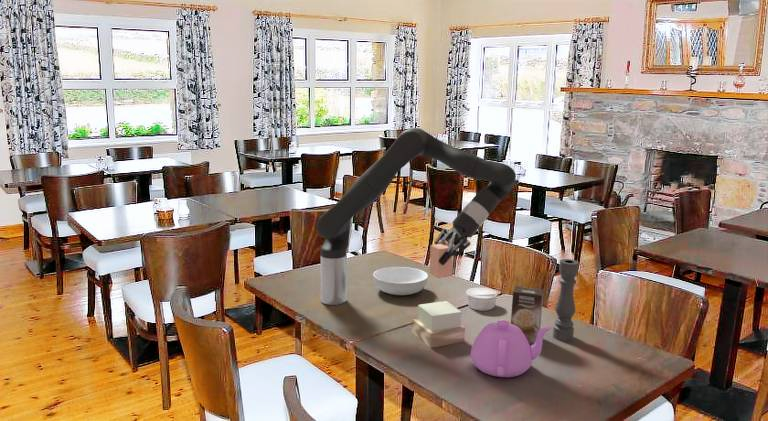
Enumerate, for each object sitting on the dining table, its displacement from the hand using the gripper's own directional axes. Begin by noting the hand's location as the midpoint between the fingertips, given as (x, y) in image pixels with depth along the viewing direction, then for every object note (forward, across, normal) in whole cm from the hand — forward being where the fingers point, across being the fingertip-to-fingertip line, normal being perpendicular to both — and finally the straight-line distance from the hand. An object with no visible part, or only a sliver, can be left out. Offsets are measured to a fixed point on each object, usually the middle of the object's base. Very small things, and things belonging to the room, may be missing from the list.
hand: (436, 260), depth 190 cm
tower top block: (+13, -1, +16) cm, 21 cm away
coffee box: (0, +11, +37) cm, 39 cm away
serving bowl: (+11, -43, +25) cm, 51 cm away
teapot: (+12, +26, +25) cm, 38 cm away
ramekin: (-3, -18, +39) cm, 43 cm away
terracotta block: (+2, 0, +5) cm, 5 cm away
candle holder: (-9, +15, +46) cm, 49 cm away
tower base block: (+17, -1, +20) cm, 26 cm away
